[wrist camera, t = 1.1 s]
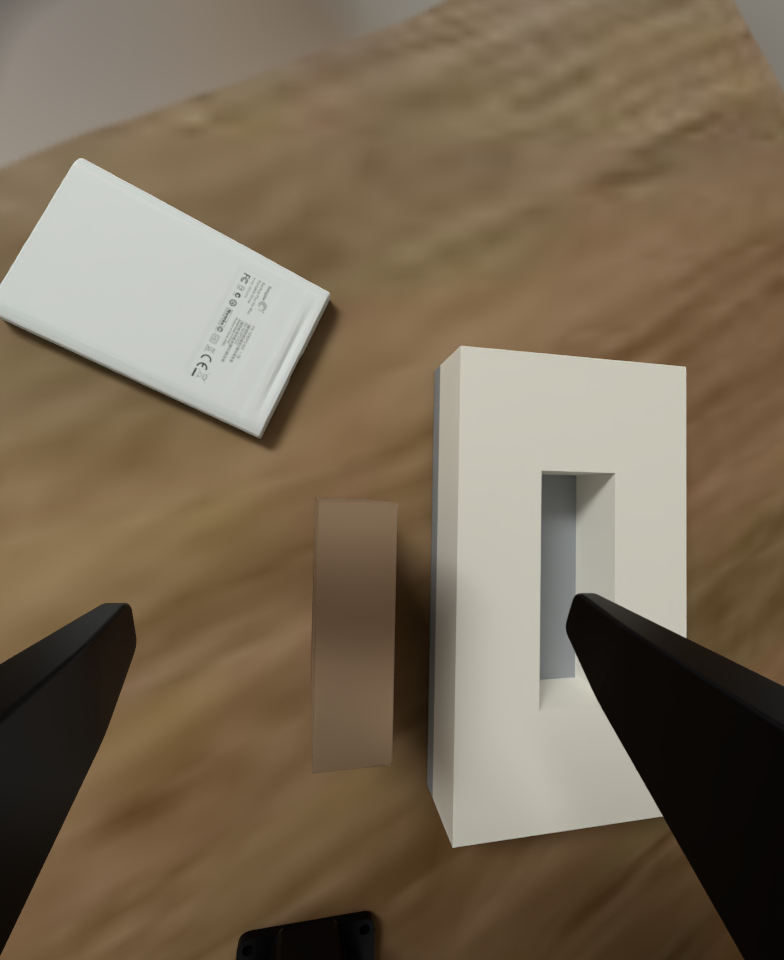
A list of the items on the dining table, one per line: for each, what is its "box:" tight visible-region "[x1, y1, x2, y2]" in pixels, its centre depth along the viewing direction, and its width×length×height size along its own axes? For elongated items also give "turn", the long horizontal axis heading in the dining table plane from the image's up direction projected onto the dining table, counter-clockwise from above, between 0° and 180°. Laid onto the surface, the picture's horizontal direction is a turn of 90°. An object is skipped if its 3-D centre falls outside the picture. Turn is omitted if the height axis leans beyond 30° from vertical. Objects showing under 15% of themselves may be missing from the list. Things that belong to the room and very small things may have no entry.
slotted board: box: [427, 346, 686, 848], centre depth 22 cm, size 22×12×4 cm, turn 179°
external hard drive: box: [0, 158, 330, 439], centre depth 20 cm, size 2×8×12 cm
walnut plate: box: [311, 497, 398, 773], centre depth 17 cm, size 8×2×9 cm, turn 179°
